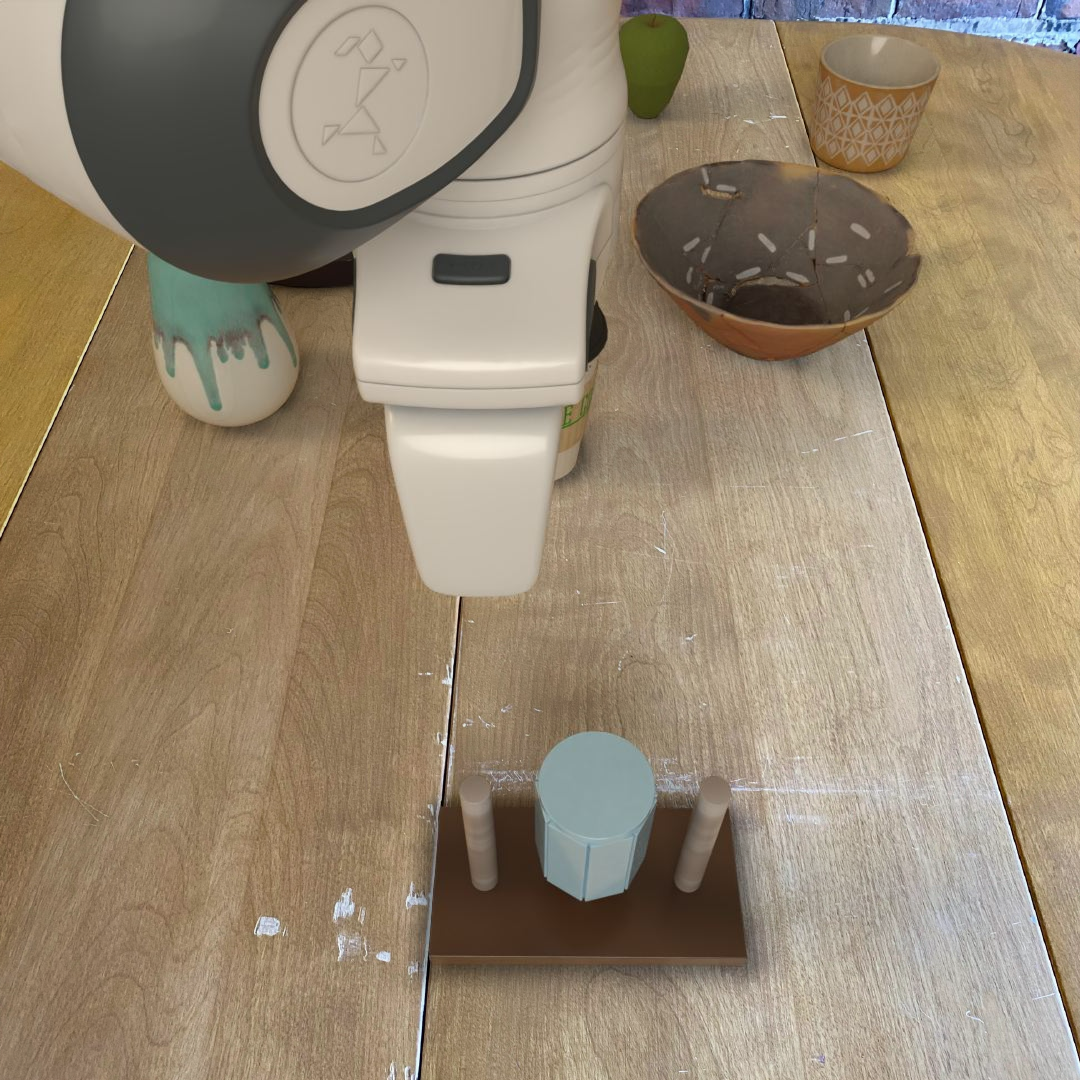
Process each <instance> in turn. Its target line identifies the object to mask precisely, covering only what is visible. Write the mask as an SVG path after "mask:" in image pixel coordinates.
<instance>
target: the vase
mask: <svg viewBox="0 0 1080 1080" xmlns="http://www.w3.org/2000/svg"><path fill="white" fill-rule="evenodd" d="M146 260H147V261H146V267H147V269H146V270H147V275H148V276H147V279H148V289H149V301H150V304H149V305H150V307H149V309H150V311H149V313H150V314H149V315H150V319H149V321H150V326H149V327H150V339H151V345H152V353H153V357H154V363H155V367H156V371H157V374H158V376H159V379H160V382H161V384H162V386H163V388H164V390H165V392H166V393H167V394H168V396H169V397H170V399H171V400H172V401H173V402H174V404H176V405H177V406H178V407H179V408H180V409H181V410H182V411H183V412H184V413H186V414H188V415H189V416H190V417H192V418H194V419H196V420H198V421H200V422H203V423H206V424H209V425H212V426H217V427H225V428H226V427H227V428H228V427H229V428H234V427H243V426H247V425H252V424H256V423H257V422H260V421H263V420H264V419H266V418H269V417H270V416H271V415H273V414H274V413H275V412H277V411H278V410H279V409H280V408H281V407H283V405H285V404H286V402H287V400H288V399H289V397H290V396H291V395H292V392H293V391H294V390H295V386H296V384H297V381H298V377H299V372H300V350H299V346H298V341H297V338H296V335H295V333H294V329H293V327H292V325H291V322H290V320H289V317H288V315H287V314H286V311H285V310H284V308H283V306H282V304H281V302H280V301H279V299H278V297H277V295H276V293H275V292H274V291H273V289H272V288H271V286H270V285H269V283H268V282H265V283H254V284H243V283H228V282H220V281H215V280H210V279H206V278H203V277H199V276H196V275H193V274H190V273H188V272H186V271H183V270H181V269H178V268H176V267H174V266H173V265H171V264H169V263H167V262H165V261H163V260H162V259H160V258H159V257H157V256H156V255H154V254H152V253H150V252H148V251H146Z"/></svg>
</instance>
